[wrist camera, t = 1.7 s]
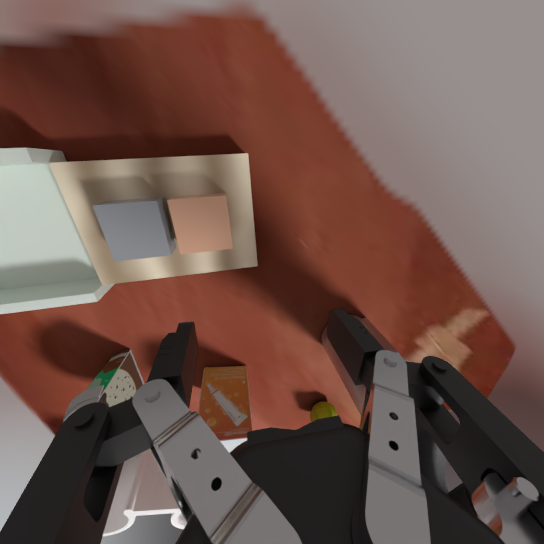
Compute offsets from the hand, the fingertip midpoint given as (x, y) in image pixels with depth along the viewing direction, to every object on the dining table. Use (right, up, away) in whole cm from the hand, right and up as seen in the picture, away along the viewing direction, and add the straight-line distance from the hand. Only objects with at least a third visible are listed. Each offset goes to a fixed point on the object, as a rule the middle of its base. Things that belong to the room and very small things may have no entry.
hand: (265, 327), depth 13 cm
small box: (-9, -17, +30) cm, 36 cm away
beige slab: (-12, +10, +16) cm, 23 cm away
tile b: (-15, +9, +13) cm, 21 cm away
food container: (-26, -14, +25) cm, 39 cm away
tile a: (-8, +10, +14) cm, 19 cm away
